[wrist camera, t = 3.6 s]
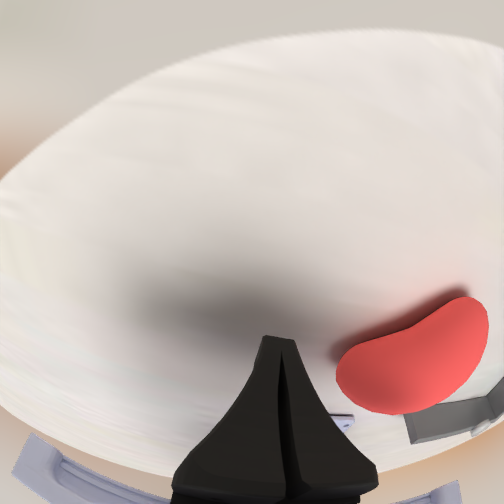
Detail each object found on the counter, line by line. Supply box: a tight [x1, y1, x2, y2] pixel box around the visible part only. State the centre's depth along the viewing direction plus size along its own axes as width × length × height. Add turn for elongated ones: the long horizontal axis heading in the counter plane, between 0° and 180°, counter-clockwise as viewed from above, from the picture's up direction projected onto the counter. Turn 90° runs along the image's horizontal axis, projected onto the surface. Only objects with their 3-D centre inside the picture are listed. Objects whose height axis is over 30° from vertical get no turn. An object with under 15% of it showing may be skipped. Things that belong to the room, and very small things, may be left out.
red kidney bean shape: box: [336, 297, 489, 415], centre depth 12 cm, size 5×9×6 cm, turn 108°
